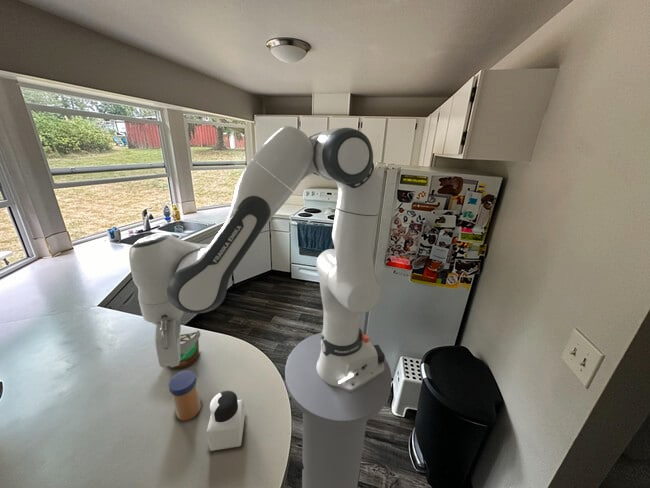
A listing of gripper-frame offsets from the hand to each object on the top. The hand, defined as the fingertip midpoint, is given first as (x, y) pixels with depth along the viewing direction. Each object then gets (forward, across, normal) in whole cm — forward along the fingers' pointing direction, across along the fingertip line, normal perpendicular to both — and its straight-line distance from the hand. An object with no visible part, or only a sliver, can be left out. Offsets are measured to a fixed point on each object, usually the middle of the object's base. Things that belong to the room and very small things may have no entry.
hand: (175, 352), depth 61 cm
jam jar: (+20, 0, 0) cm, 20 cm away
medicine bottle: (+21, -11, -9) cm, 25 cm away
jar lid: (+10, 0, 0) cm, 10 cm away
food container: (+21, +18, +1) cm, 28 cm away
